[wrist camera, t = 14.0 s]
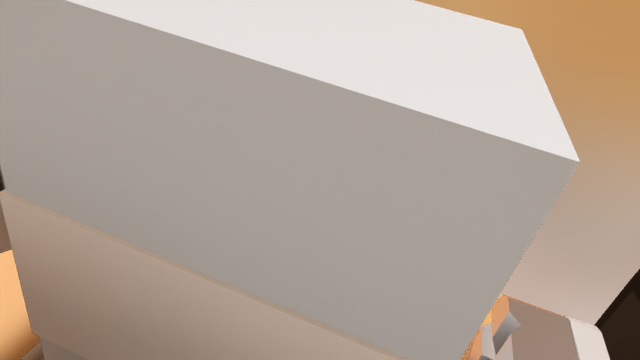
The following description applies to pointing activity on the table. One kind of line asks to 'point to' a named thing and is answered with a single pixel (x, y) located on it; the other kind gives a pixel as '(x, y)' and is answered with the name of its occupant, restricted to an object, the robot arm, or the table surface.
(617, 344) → the digital camera
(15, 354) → the table surface
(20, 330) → the table surface
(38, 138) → the white carton
